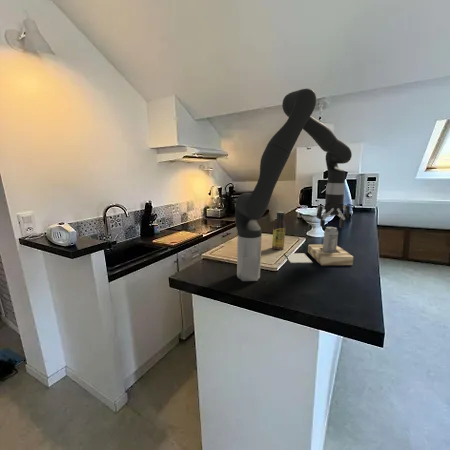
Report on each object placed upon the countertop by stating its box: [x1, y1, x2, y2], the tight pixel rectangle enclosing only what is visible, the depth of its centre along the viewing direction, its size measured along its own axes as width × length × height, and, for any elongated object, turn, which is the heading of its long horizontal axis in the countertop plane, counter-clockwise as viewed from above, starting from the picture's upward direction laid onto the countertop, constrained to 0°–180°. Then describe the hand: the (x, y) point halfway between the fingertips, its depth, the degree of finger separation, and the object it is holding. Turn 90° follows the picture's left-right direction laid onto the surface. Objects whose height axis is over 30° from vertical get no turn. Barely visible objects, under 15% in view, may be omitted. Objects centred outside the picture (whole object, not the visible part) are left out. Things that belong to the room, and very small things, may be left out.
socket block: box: [307, 244, 354, 266], centre depth 124 cm, size 18×14×4 cm
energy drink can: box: [322, 226, 339, 253], centre depth 123 cm, size 6×6×15 cm
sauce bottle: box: [271, 211, 286, 250], centre depth 136 cm, size 6×6×20 cm
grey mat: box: [287, 252, 314, 264], centre depth 124 cm, size 12×10×1 cm
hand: (331, 227), depth 121 cm, fingers open, 8 cm apart
